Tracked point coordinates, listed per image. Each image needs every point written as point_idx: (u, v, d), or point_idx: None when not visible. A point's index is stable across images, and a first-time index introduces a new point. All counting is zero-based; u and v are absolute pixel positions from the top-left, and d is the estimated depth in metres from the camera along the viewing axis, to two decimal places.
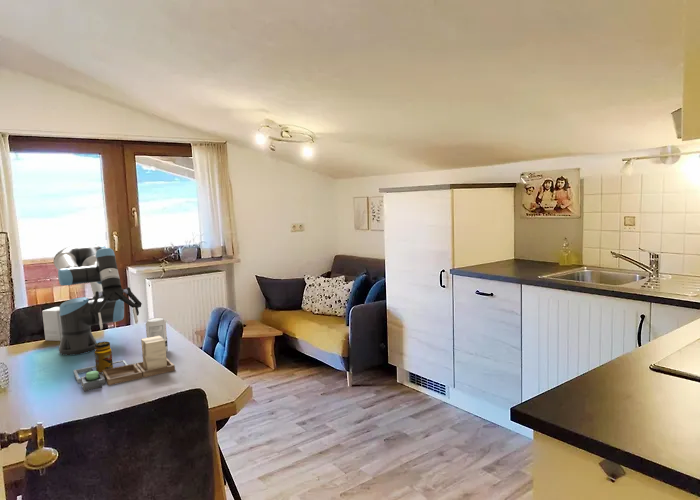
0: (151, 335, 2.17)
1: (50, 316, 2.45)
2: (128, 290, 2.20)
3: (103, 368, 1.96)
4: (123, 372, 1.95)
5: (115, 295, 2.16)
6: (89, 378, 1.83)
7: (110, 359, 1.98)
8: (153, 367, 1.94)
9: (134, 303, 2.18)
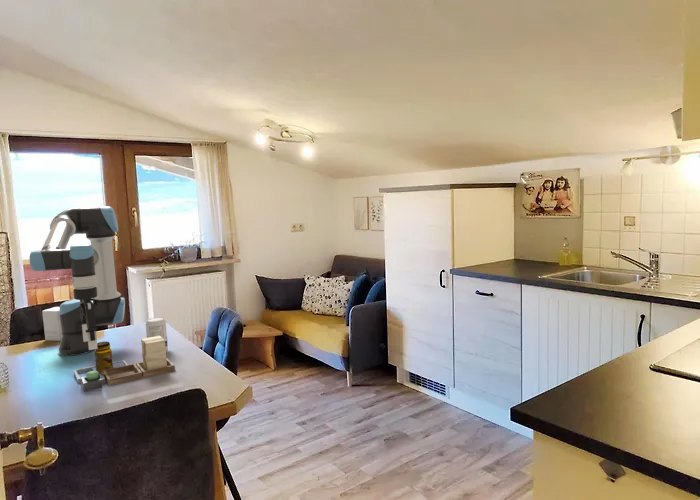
0: (151, 335, 2.17)
1: (50, 316, 2.45)
2: (85, 307, 1.77)
3: (103, 368, 1.96)
4: (123, 372, 1.95)
5: None
6: (89, 378, 1.83)
7: (110, 359, 1.98)
8: (153, 367, 1.94)
9: (87, 326, 1.77)
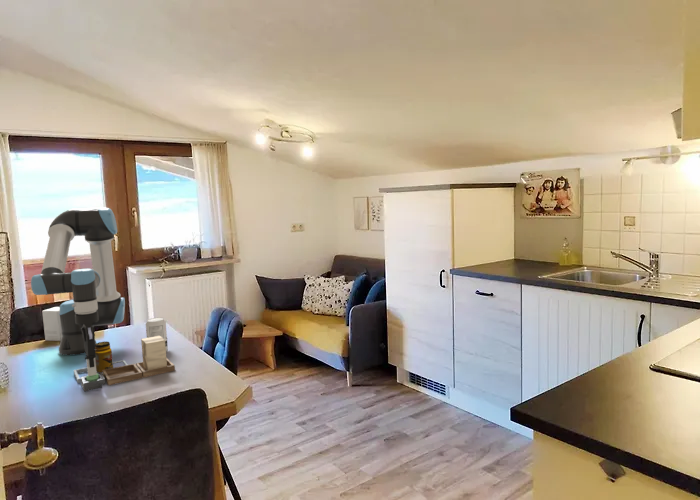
0: (151, 335, 2.17)
1: (50, 316, 2.45)
2: (86, 337, 1.79)
3: (103, 368, 1.96)
4: (123, 372, 1.95)
5: None
6: None
7: (110, 359, 1.98)
8: (153, 367, 1.94)
9: (87, 354, 1.82)
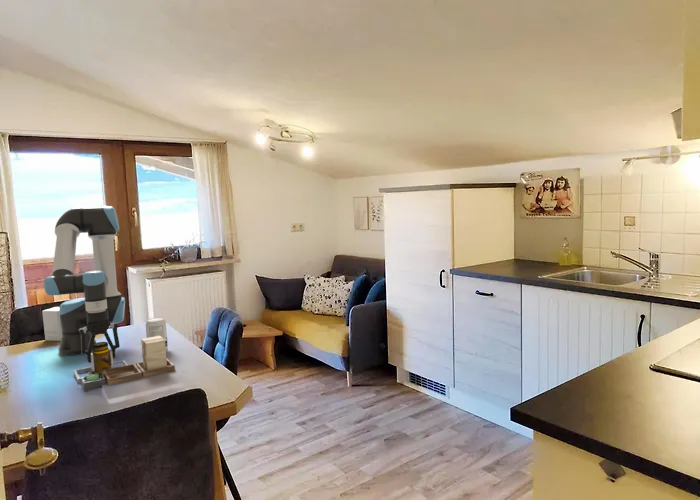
0: (151, 335, 2.17)
1: (50, 316, 2.45)
2: (114, 327, 1.99)
3: (101, 368, 1.96)
4: (123, 372, 1.95)
5: (100, 330, 1.97)
6: None
7: (108, 359, 1.98)
8: (153, 367, 1.94)
9: (113, 345, 2.00)
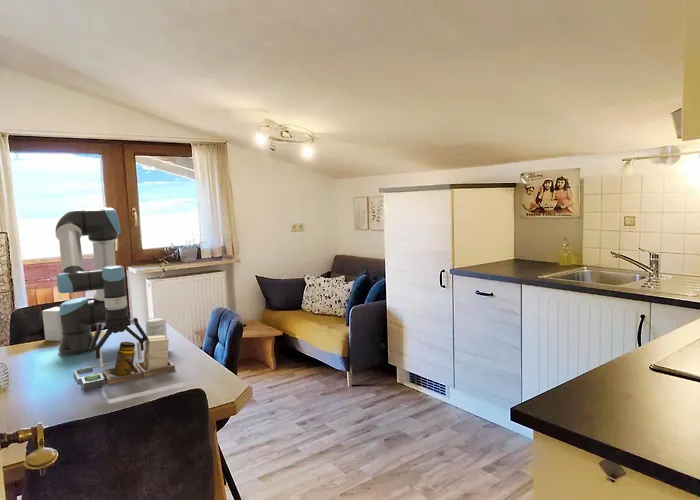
0: (151, 335, 2.17)
1: (50, 316, 2.45)
2: (135, 322, 1.91)
3: (122, 369, 1.88)
4: None
5: (120, 328, 1.88)
6: None
7: (131, 361, 1.91)
8: (154, 366, 1.94)
9: (140, 338, 1.93)
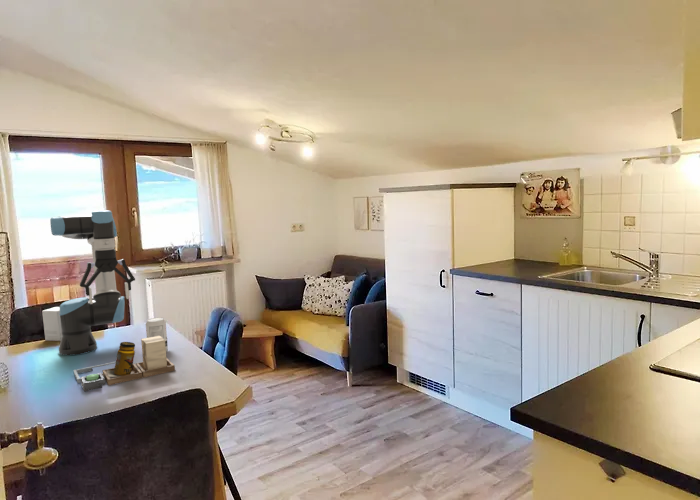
0: (151, 335, 2.17)
1: (50, 316, 2.45)
2: (123, 263, 2.06)
3: (122, 369, 1.88)
4: None
5: (108, 268, 2.03)
6: None
7: (131, 361, 1.91)
8: (153, 367, 1.94)
9: (127, 278, 2.08)
